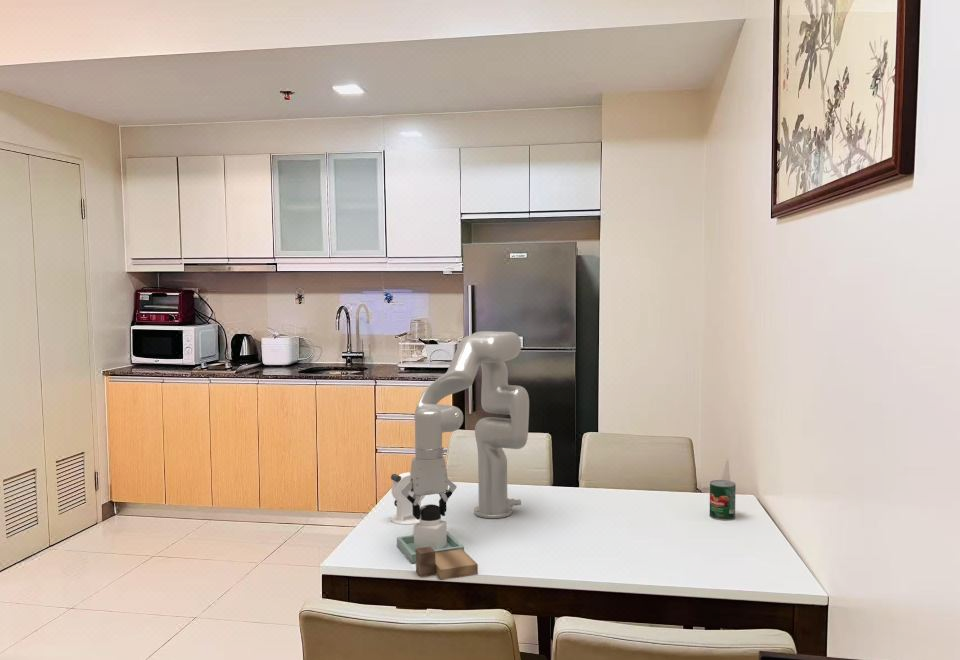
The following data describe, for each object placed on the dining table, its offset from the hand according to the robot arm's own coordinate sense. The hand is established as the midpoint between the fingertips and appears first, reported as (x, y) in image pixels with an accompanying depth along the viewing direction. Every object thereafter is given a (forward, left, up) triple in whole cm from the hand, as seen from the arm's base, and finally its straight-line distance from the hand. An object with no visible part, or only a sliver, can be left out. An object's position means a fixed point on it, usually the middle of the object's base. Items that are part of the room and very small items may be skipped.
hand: (429, 515), depth 202 cm
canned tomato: (-96, +8, -10) cm, 97 cm away
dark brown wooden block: (+6, +15, -10) cm, 19 cm away
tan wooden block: (-1, +15, -10) cm, 18 cm away
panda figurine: (-3, -30, -10) cm, 32 cm away
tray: (0, 0, -10) cm, 10 cm away
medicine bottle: (0, 0, -10) cm, 10 cm away
